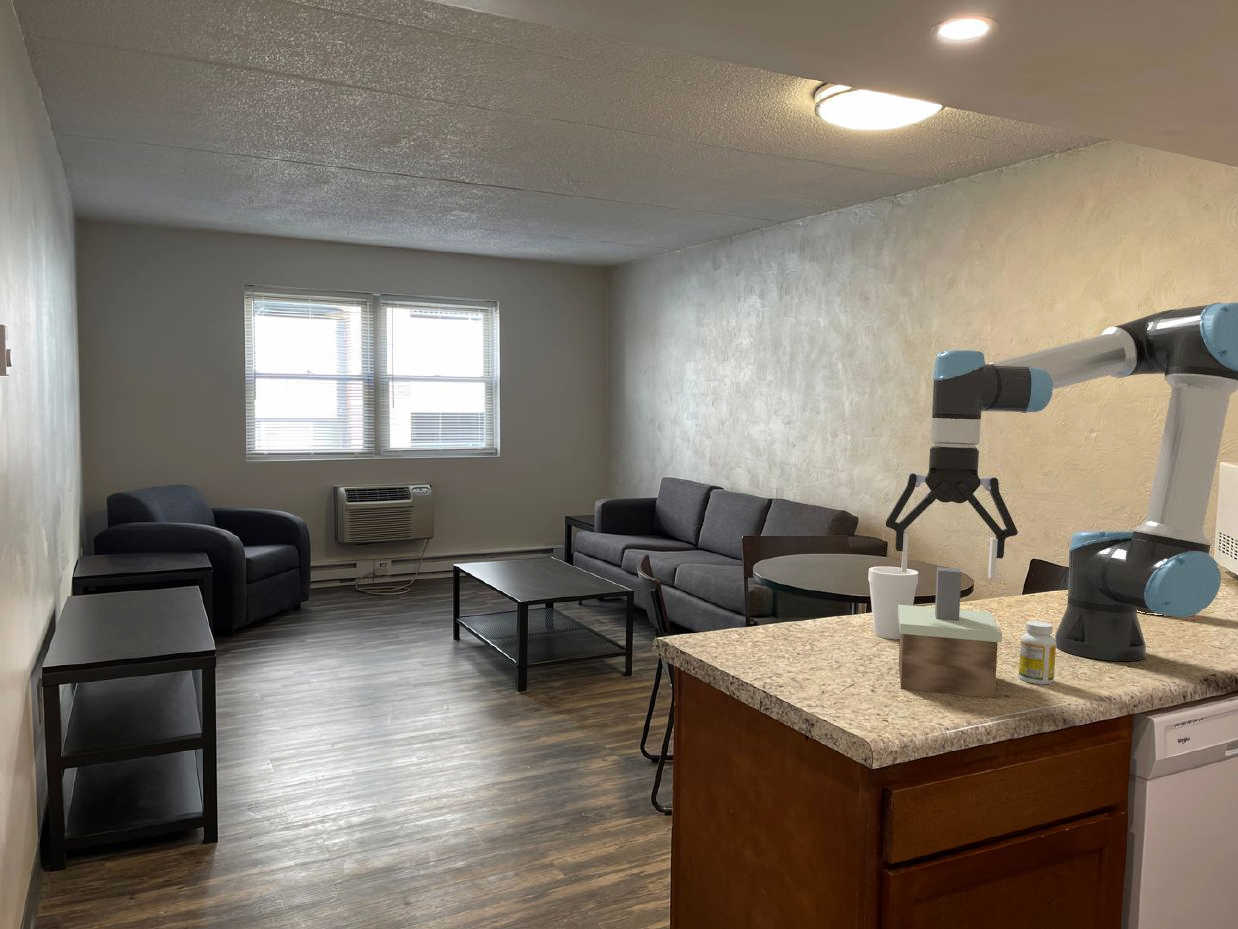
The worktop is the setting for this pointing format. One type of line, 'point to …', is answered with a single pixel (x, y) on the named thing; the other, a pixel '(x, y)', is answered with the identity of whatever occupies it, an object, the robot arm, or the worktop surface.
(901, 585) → the foam cup
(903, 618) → the lid
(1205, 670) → the worktop surface
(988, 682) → the box
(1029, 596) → the worktop surface
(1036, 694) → the worktop surface
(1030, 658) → the supplement bottle
